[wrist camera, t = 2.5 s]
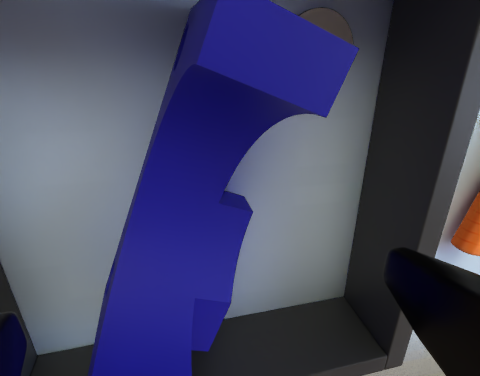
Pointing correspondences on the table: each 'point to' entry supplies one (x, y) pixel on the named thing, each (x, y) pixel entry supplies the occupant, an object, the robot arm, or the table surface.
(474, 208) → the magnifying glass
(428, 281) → the robot arm
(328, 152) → the table surface
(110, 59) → the table surface
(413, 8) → the dark grey square tray
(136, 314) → the blue u-shaped bracket
